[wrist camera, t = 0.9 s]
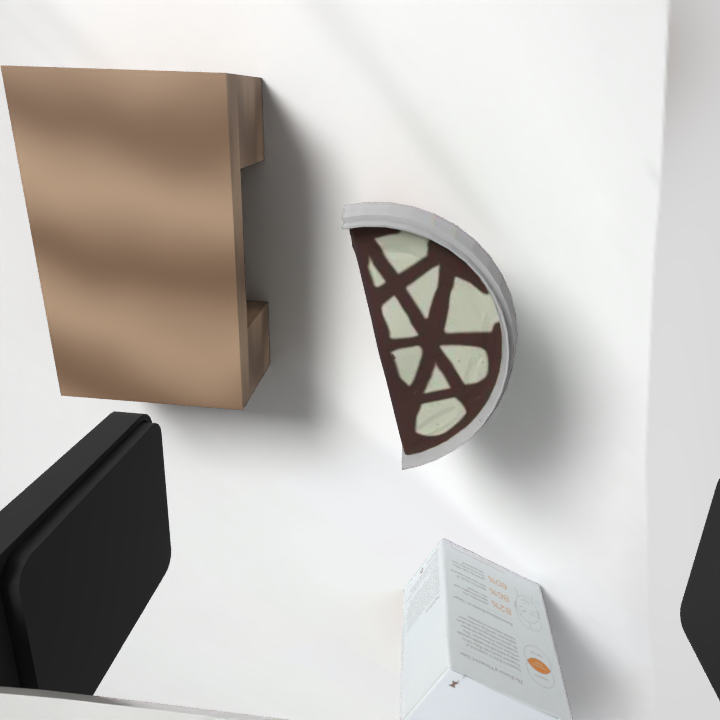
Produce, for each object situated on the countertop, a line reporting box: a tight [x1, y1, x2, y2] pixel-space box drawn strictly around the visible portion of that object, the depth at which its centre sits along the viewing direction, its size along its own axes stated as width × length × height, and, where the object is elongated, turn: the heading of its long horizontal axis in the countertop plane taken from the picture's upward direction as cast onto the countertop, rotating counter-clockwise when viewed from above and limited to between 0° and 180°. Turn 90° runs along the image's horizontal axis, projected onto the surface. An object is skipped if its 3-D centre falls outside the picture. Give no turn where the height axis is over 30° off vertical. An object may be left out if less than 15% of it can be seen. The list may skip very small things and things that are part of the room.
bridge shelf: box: [1, 66, 270, 410], centre depth 32 cm, size 16×10×6 cm, turn 178°
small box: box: [400, 539, 573, 720], centre depth 38 cm, size 8×6×10 cm
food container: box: [342, 202, 517, 470], centre depth 29 cm, size 12×6×10 cm, turn 13°
